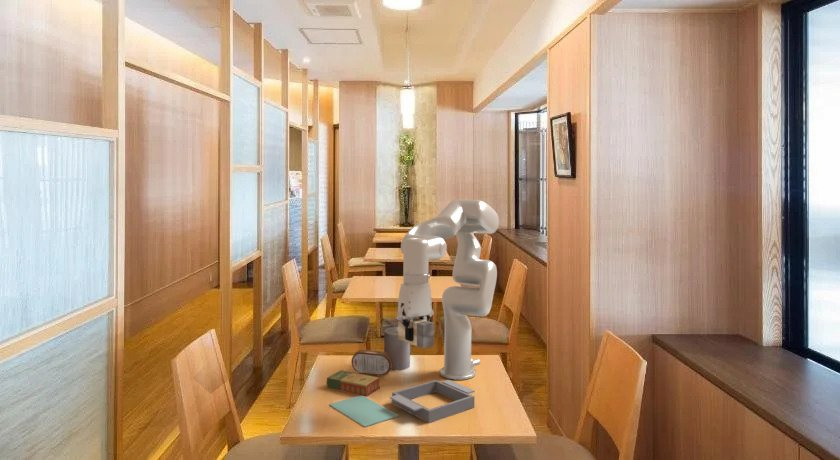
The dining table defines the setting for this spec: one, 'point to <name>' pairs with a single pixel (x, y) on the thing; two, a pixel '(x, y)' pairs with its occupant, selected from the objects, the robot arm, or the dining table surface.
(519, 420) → the dining table surface
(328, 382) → the carton
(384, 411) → the mat
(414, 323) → the block
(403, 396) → the open square frame
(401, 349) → the pillar candle
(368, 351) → the tin
